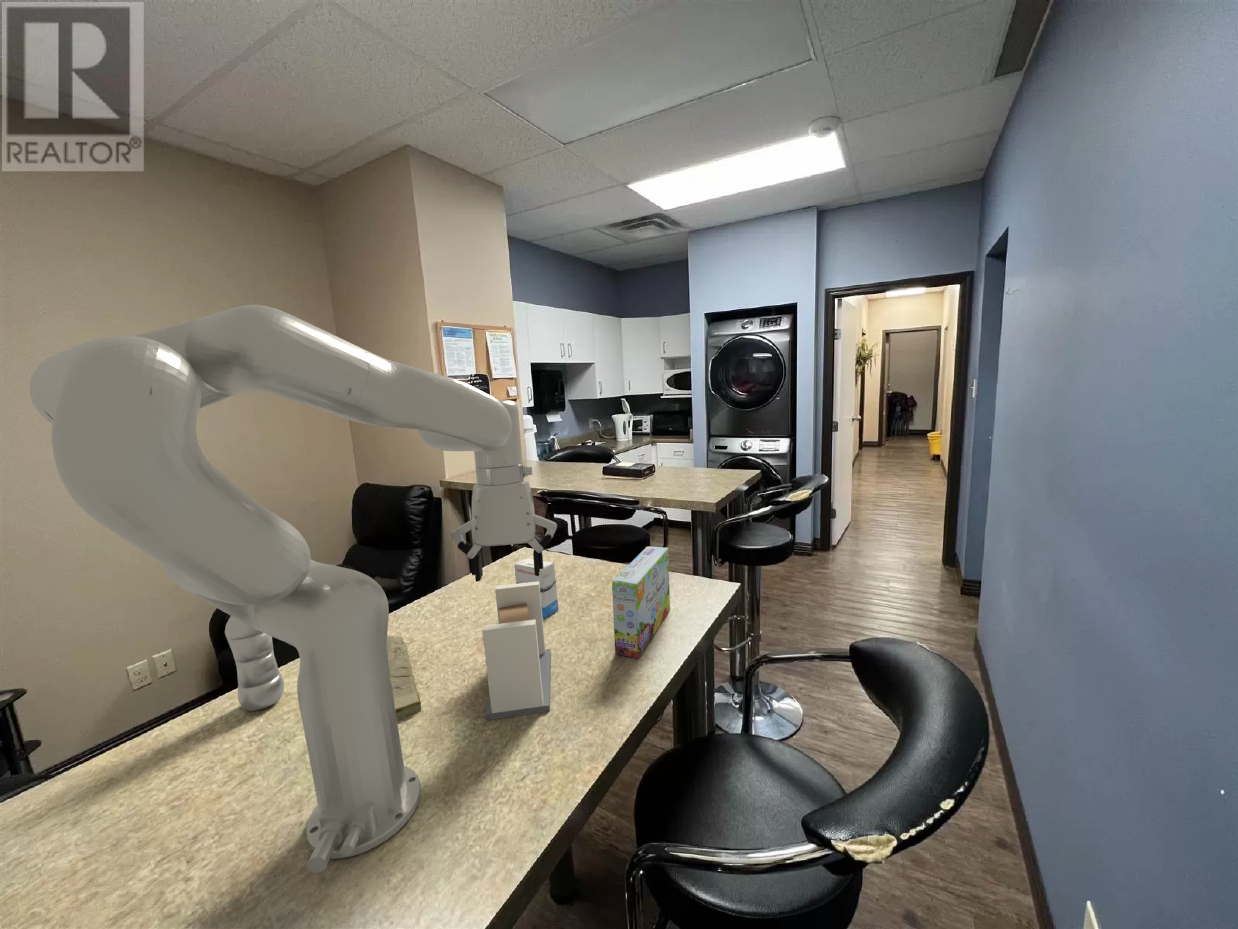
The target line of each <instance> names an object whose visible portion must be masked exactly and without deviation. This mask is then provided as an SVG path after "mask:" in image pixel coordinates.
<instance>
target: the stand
mask: <svg viewBox="0 0 1238 929" xmlns="http://www.w3.org/2000/svg"><path fill="white" fill-rule="evenodd" d="M494 592H495V600H496V611H497V619H498V623H495V624H486V625H483V627H482V639H483V648H484V658H485V666H486V672H487V683H488V691H489V696H488V700H487V705H486V709H485V720H486V721H489V720H496V719H500V718H501V719H502V718H503V719H504V718H509V717H517V716H522V715H523V716H524V715H531V714H538V713H544V712H545V713H546V712H551V678H552V677H551V673H552V672H551V670H552V667H551V666H552V650H551V648H546V642H545V640H546V639H545V631H544V630H545V629H544V620H543V617H542V607H541V596H540V586H539V581H537V582H528V583H518V584H516V583H511V584H504V585H503V584H500V585H495V591H494ZM524 603H526V604H527V608H528V612H529V617H530V620H527V621H519V622H510V623H502V624H500V616H499V608H501V607H507V606H512V605H518V604H524Z"/></svg>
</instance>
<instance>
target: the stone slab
mask: <svg viewBox="0 0 1238 929" xmlns="http://www.w3.org/2000/svg"><path fill="white" fill-rule="evenodd" d="M387 652H388V663H389V671H390V678H391V683H392V689H393V696H394V703H395V710H396V717H397V720H399V719H402V718H403V719H404V718H405V717H408V716H411V715H413V714H416V713H418V712H421V711H422V705H421V704H422V701H421V698H420V692H419V691H418V689H417V684H416V682H415V677H414V676H415V675H414V674H413V667H412V664H411V660H410V657H409V652H408V646H407V644H406V643H405V642H404V640H403V637H402V636H394V635H392V636H387Z"/></svg>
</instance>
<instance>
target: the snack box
mask: <svg viewBox="0 0 1238 929" xmlns="http://www.w3.org/2000/svg"><path fill="white" fill-rule="evenodd" d="M669 558H670V557H669V547H661V546H651V545H650V546H645V548H644V549H642V551H641V552H640V553H639V554H638V555H636V557H635V558H634V559H633V560H632V561H631V562H630V563H629V564H628V565H627V566H626V567H625V568H624V569H623V570H622V571H621V572H620V573H619V574H618V575H617V576H616V577H614V579H613V580H612V581H611V588H612V590H611V592H612V610H613V611H612V612H613V616H612V617H613V635H614V637H613V638H614V654H615V655H620V656H624V657H629V658H635V659H640V657H641V656H642V654H643V653H644V651H645V649H646V648H647V646H648V644H649V643H650V641H651V640H652V638H653V637H654V635H655V633H656V632H657V631H658V629H659V628H660V626H661V625H662V622H663V621H664V620H665V619H666V617H667V615H668V614H669V613H670V611H671V600H670V565H669V564H670V561H669V560H670V559H669Z"/></svg>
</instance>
